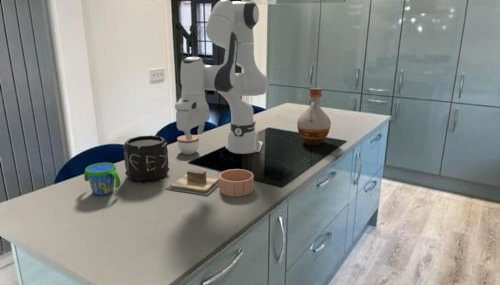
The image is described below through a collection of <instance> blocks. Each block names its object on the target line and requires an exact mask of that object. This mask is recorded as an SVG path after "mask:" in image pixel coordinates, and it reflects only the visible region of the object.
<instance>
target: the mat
mask: <svg viewBox="0 0 500 285" xmlns="http://www.w3.org/2000/svg"><path fill="white" fill-rule="evenodd" d="M185 174H187V172H186V173H185ZM185 174H183V175H182V176H181V177H183V176H184V175H185ZM181 177H179V178H178V179H177V180H179V179H180V178H181ZM177 180H175V181H174V182H176V181H177ZM174 182H172V183H171V184H169V186H167V187H166V188H165V190H166V191H167V190H168V191H174V192H178V193H179V192H180V193H185V194H186V193H187V194H193V195H199V196H203V197H205V196H206V197H208V196H209V195H211V194H212V193H213V192H214V191H215V190H216V189H217V188H219V181H218V182H217V183H216V184H215V185H214V186H213V187H212V188H211V189H210V190H208V191H207V192H206V193H203V192H197V191H190V190H184V189H177V188H171V185H172V184H173V183H174Z"/></svg>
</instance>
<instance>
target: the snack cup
mask: <svg viewBox="0 0 500 285" xmlns="http://www.w3.org/2000/svg"><path fill="white" fill-rule="evenodd" d="M83 178H84V181H85V182H88V183H89V185H90V188H91V191H92V194H93V195H96V196H101V197H102V196H105V195H109V194H112V192H114V189H115V188H116V189H117V188H119V187H120V185H121V180H120V176H119V174H118V172H117V165H115V163H112V162H97V163H94V164H91V165H90V164H89V165H88V166H87V167H85V169H84V176H83Z"/></svg>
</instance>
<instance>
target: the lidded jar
mask: <svg viewBox="0 0 500 285" xmlns="http://www.w3.org/2000/svg"><path fill="white" fill-rule="evenodd" d="M191 135H192V140H190V141H188V140H186V135H185V134H184V135H180V136H178V137H177V138H176V139H177V140H176V141H177V147H178V149H179V151H180V152H181V153H182V154H183V155H194V154H195V153H196V151H197V150H198V148H199V147H200V146H199V145H200V138H199V136H198V135H195V134H191Z"/></svg>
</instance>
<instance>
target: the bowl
mask: <svg viewBox="0 0 500 285" xmlns="http://www.w3.org/2000/svg"><path fill="white" fill-rule="evenodd" d="M218 176H219V186H218V189H219V192H220V194H222V195H224V196H227V197H229V198H233V197H234V198H240V197H242V198H243V197H246V196H249V195H251V194H252V193H253V192H254V187H255V186H254V184H255V176H254V173H253V172H252V171H250V170H247V169H242V168H241V169H240V168H234V169H233V168H231V169H227V170H223V171H221V172H220V173H219V174H218Z"/></svg>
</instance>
